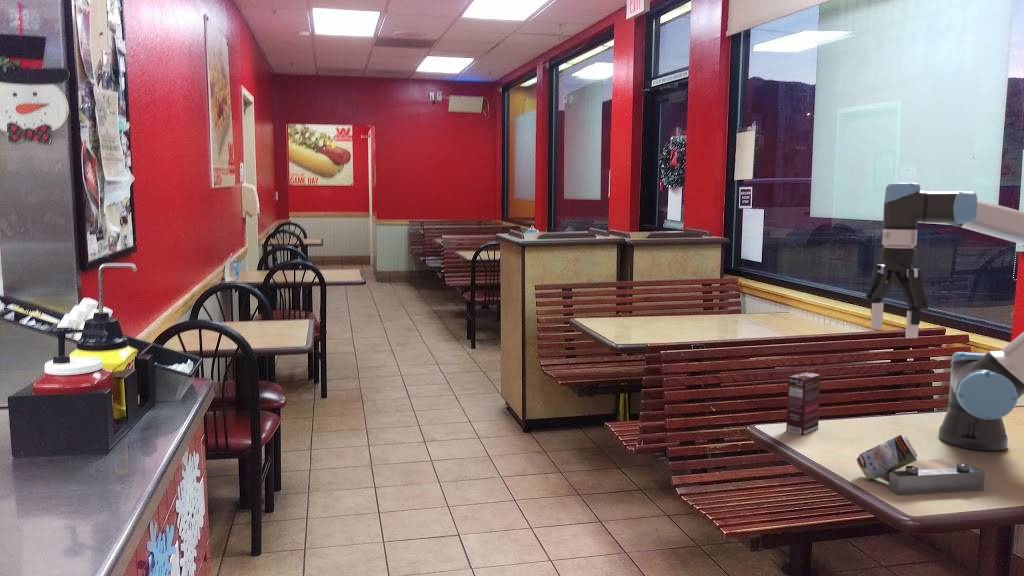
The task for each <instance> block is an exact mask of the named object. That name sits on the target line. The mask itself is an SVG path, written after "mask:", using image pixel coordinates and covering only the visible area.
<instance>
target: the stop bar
mask: <svg viewBox="0 0 1024 576" xmlns="http://www.w3.org/2000/svg"><path fill="white" fill-rule="evenodd" d="M956 466H957V468H949V469H930V470H919V468H917V467H915V466H906V471H893V472H890V479H889V478H888V479H889V482H888V491H890V492H891V493H893V494H895V495H897V496H905V495H906V496H908V495H909V496H910V495H923V494H939V493H940V494H941V493H943V494H944V493H956V492H959V493H960V492H973V491H984V489H985V488H984V487H985V476H986V475H985V474H986V472H985V471H984V470H981V469H979V468H977V467H975V466H970V465H969V464H967V463H963V462H959V463H958V462H957V463H956Z"/></svg>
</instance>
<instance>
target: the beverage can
mask: <svg viewBox="0 0 1024 576" xmlns="http://www.w3.org/2000/svg"><path fill="white" fill-rule="evenodd" d="M918 456H919V455H918V453H917V452H916V449H915V448H914V446H913V445H912V443H911V442H910V440H909V439H908V437H907V436H903V435H902V434H899V435H898V436H895V437H893V438H891V439H888V440H886V441H885V442H883V443H880V444H878V445H875V446H874V447H872V448H870V449H867V450H865V451H863V452H862V453H860V454H859V455H858V457H857V458H855V461H856V463H857V465H858V467H859V468H860V470H861V472H862V473H863V474H864V477H865V478H866V479H867V480H870V479H871V480H878V479H879V478H881V477H882V478H883V477H885V476H884V475H886V474H888V473H890V472H893V471H895V470H897V469H899V468H901V467H903V466H906V465H908V464H910V463H912V462H914V461H917V460H918V458H917V457H918Z"/></svg>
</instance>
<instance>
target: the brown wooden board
mask: <svg viewBox="0 0 1024 576" xmlns="http://www.w3.org/2000/svg"><path fill="white" fill-rule="evenodd" d="M906 466H915V467H917V468H919V470H930V469H949V468H957V464H954V463H952V462H950V461H949V460H946V459H944V458H940V459H939V458H938V459H920V460H919V459H917V460H916V461H914V462H912V463H910V464H908V465H906ZM906 466H903V467H901V468H899V469H897V470H895V471H906ZM883 477H885V478H888V479H890V473H888V474H886V475H884V476H883Z"/></svg>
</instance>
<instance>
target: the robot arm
mask: <svg viewBox="0 0 1024 576" xmlns="http://www.w3.org/2000/svg"><path fill="white" fill-rule="evenodd" d="M882 219H883V220H882V238H881V244H882V246H883V247H882V248H881V252H880V261H881V263H884V264H875V268H874V275H873V276H872V280H871V282H870V284H869V287H868V290H867V291H866V294H865V299H866V300H869V302H870V303H871V306H870V314H871V316H870V329H872V330H875V329H876V330H878V329H879V330H880V329H883V320H884V306H885V305H884V298H885V296H887V293H889V291H890V289H891V288H892V286H893V285H894V286H897V288H899V289H900V291H901V293H902V294H903V297H904V299H905V302H906V304H907V306H908V309H907V311H906V324H905V337H904V338H906V339H918V338H919V326H920V323H921V312H922V311H924V310H928V308H929V306H928V305H929V304H928V301H927V297H926V293H925V289H924V286H923V282H922V281H923V280H922V275H921V272H922V271H921V269H920V268H912V265H913V264H914V263H915V262H916V258H917V257H916V254H917V249H916V248H915V246H917V243H918V223H922V224H923V223H924V224H925V223H934V224H947V225H949V226H950V225H951V226H954V227H958V228H961V229H966V230H969V231H972V232H973V231H974V232H977V233H979V234H983V235H987V236H991V237H995V238H997V239H1001V240H1005V241H1007V242H1008V241H1009V242H1013V243H1016V244H1020V245H1023V246H1024V211H1023V210H1018V209H1014V208H1012V207H1011V208H1010V207H1007V206H1003V205H999V204H995V203H992V202H991V203H990V202H987V201H983V200H979V199H978V195H977V193H976V192H974V191H964V190H956V191H955V190H951V191H950V190H949V191H948V190H947V191H946V190H945V191H944V190H943V191H942V190H941V191H940V190H939V191H938V190H937V191H925V190H922V189H921V185H920V183H918V182H891V183H889V184H888V185H886V187H885V192H884V201H883V218H882ZM915 264H916V263H915ZM949 380H950V381H949V382H950V383H949V393H948V395H949V396H948V408H947V411H946V413H945V415H944V418H943V421H942V422H941V425H940V426H939V428H938V439H939V440H941V441H942V442H944V443H947V444H949V445H951V446H954V447H959V448H963V449H968V450H974V451H975V450H976V451H988V452H989V451H990V452H996V451H1003V450H1005V449H1007V448H1008V444H1009V443H1008V441H1009V440H1008V439H1009V438H1008V435H1007V432H1006V428H1005V423H1004V420H1003V418H1004V417H1006V416H1008V415H1009V414H1010V413H1012V411H1013V410H1014V409H1015V407H1016V405H1017V404H1018V400H1019V399H1020V398H1021V397H1022V396H1024V331H1022V333H1020V334H1019V335H1017V336H1016V338H1014V339H1013V340H1012V341H1011V342H1009V343H1008V344H1007V345H1006V346H1004V347H1003V348H1002V349H1001V350H989V351H988V352H987V353H982V352H981V353H980V352H967V351H966V352H965V351H956V352H954V353H953V354H952V356H951V361H950V379H949Z"/></svg>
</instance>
